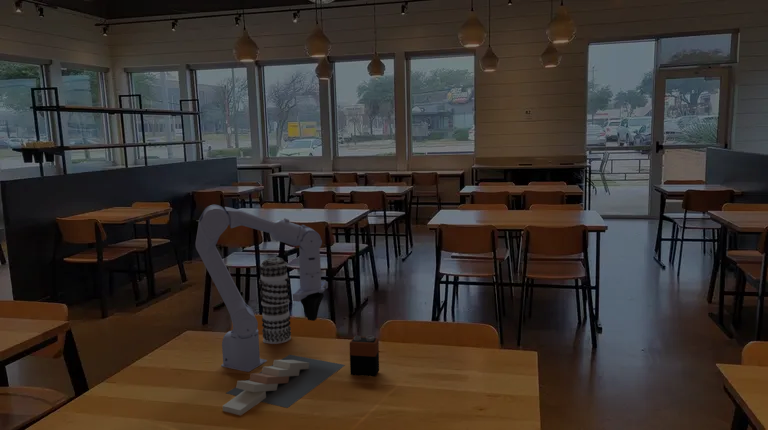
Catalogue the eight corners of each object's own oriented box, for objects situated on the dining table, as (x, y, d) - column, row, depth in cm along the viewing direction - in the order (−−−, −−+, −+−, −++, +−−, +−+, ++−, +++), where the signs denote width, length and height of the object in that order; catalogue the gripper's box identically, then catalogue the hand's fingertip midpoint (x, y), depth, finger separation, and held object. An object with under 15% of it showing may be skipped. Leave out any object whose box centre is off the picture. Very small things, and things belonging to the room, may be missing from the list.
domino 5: (308, 369, 147) (289, 369, 140) (292, 365, 150) (272, 366, 142) (309, 362, 148) (290, 363, 140) (293, 359, 150) (273, 359, 142)
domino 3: (288, 383, 139) (266, 384, 132) (271, 379, 142) (249, 380, 134) (289, 376, 140) (267, 377, 132) (272, 373, 142) (250, 373, 134)
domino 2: (266, 397, 132) (240, 416, 124) (249, 393, 134) (223, 412, 126) (265, 391, 131) (240, 410, 123) (248, 387, 134) (222, 405, 126)
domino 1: (276, 390, 135) (253, 391, 127) (260, 386, 138) (236, 388, 130) (277, 383, 136) (254, 384, 128) (261, 380, 138) (237, 380, 130)
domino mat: (225, 394, 135) (225, 393, 135) (289, 355, 158) (289, 354, 158) (287, 409, 127) (287, 407, 127) (345, 366, 150) (345, 364, 150)
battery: (376, 378, 142) (375, 340, 141) (350, 376, 144) (348, 338, 142) (379, 371, 146) (378, 334, 145) (354, 369, 148) (353, 333, 146)
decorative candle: (277, 332, 177) (273, 254, 173) (298, 338, 172) (295, 257, 168) (255, 341, 169) (250, 260, 166) (276, 347, 164) (272, 263, 161)
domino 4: (298, 375, 144) (278, 376, 136) (282, 372, 146) (261, 373, 138) (299, 369, 144) (279, 370, 136) (283, 366, 146) (262, 366, 138)
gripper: (307, 279, 146) (309, 329, 148) (336, 267, 159) (337, 313, 161) (285, 277, 149) (287, 326, 151) (315, 265, 162) (317, 310, 164)
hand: (312, 319), depth 156 cm, fingers closed
